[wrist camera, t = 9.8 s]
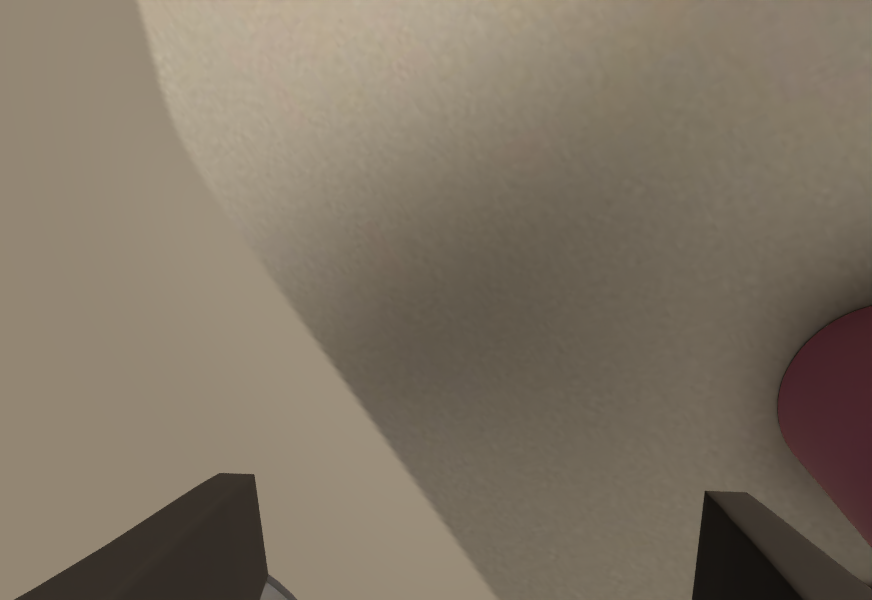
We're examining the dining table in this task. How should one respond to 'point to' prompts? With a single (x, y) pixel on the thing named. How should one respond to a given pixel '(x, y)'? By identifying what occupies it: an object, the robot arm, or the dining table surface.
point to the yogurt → (834, 414)
